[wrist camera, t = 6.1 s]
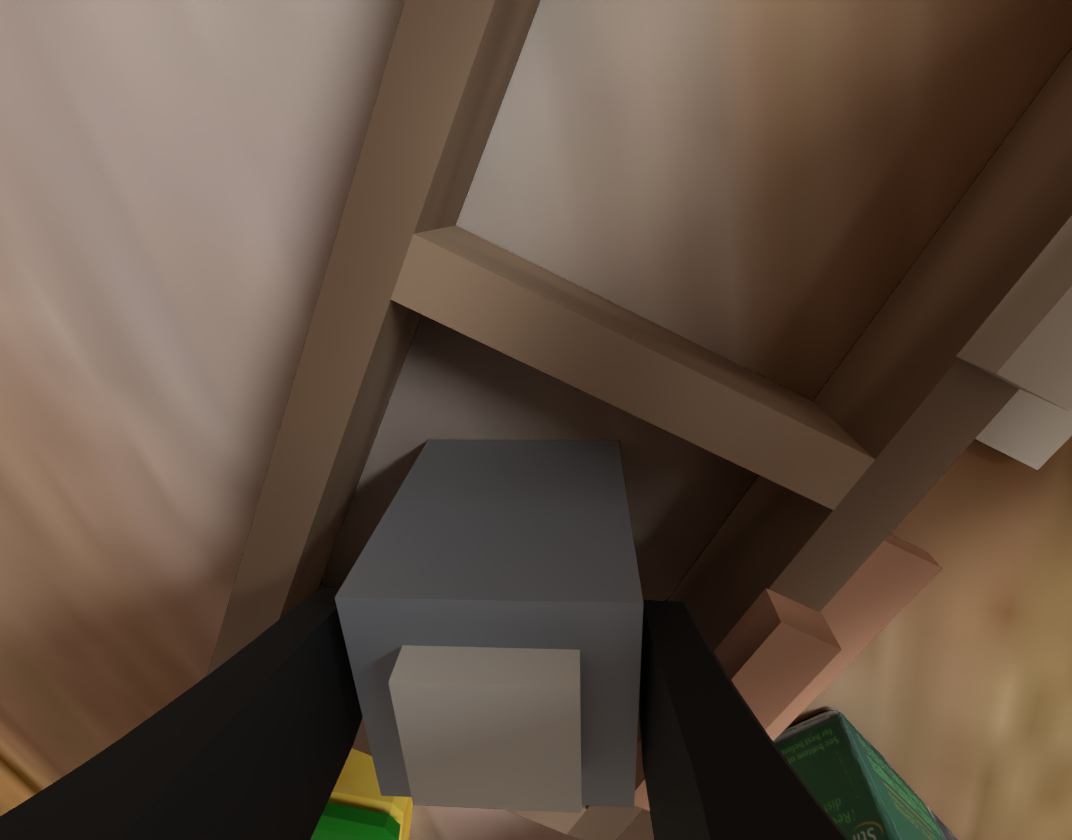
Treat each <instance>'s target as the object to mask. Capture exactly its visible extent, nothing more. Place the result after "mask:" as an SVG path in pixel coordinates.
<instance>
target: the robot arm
mask: <svg viewBox="0 0 1072 840" xmlns="http://www.w3.org/2000/svg"><path fill="white" fill-rule="evenodd" d="M339 589H340V588H331V587H322V588H320V589H319V590H317V591H316V592H315V593H313V594H312V595H310V596H309V597H308V598H306V599H305V600H304V601H303V602H301V603H300V604H299V605H297V606H296V607H295V608H293V609H292V610H291V611H290V612H288V613H287V614H286V615H285V616H283V617H282V618H281V619H279V620H278V621H277V622H276V623H274V624H273V625H272V626H271V627H269V628H268V629H267V630H266V631H264V632H263V633H262V634H260V635H259V636H258V637H257V638H255V639H254V640H253V641H252V642H250V643H249V644H248V645H246V646H245V647H244V648H242V649H241V650H240V651H239V652H237V653H236V654H235V655H233V656H232V657H231V658H230V659H228V660H227V661H226V662H224V663H223V664H222V665H220V666H219V667H218V668H217V669H215V670H214V671H213V672H211V673H210V674H209V675H208V676H206V677H205V678H204V679H202V680H201V681H200V682H198V683H197V684H196V685H194V686H193V687H192V688H190V689H189V690H187V691H186V692H185V693H183V694H182V695H180V696H179V697H178V698H176V699H175V700H174V701H172V702H171V703H169V704H168V705H167V706H165V707H164V708H162V709H161V710H160V711H158V712H157V713H156V714H154V715H153V716H151V717H150V718H149V719H147V720H146V721H144V722H143V723H142V724H140V725H139V726H138V727H136V728H135V729H133V730H132V731H131V732H129V733H128V734H126V735H125V736H124V737H122V738H121V739H119V740H118V741H116V742H115V743H114V744H112V745H111V746H109V747H108V748H106V749H105V750H103V751H102V752H100V753H99V754H97V755H96V756H94V757H93V758H91V759H90V760H88V761H87V762H85V763H84V764H82V765H81V766H79V767H78V768H76V769H75V770H73V771H72V772H70V773H69V774H67V775H66V776H64V777H62V778H61V779H59V780H58V781H56V782H55V783H53V784H51V785H50V786H48V787H47V788H45V789H44V790H42V791H40V792H39V793H37V794H36V795H34V796H33V797H31V798H29V799H28V800H26V801H25V802H23V803H22V804H20V805H18V806H17V807H15V808H13V809H12V810H10V811H9V812H7V813H5V814H4V815H2V816H0V840H311V837H312V835H313V833H314V831H315V829H316V826H317V824H318V822H319V820H320V818H321V816H322V813H323V811H324V809H325V807H326V805H327V802H328V800H329V798H330V796H331V794H332V791H333V789H334V787H335V785H336V782H337V780H338V778H339V776H340V774H341V771H342V769H343V767H344V765H345V762H346V760H347V758H348V756H349V753H350V751H351V749H352V746H353V744H354V741H355V738H356V735H357V732H358V729H359V727H360V724H361V721H362V718H363V716H362V712H361V708H360V704H359V699H358V695H357V691H356V687H355V682H354V678H353V674H352V670H351V665H350V661H349V657H348V653H347V648H346V644H345V640H344V636H343V631H342V627H341V623H340V619H339V614H338V610H337V606H336V602H335V596H336V594H337V593H338V591H339ZM639 716H640V733H641V747H642V762H643V770H644V776H645V783H646V789H647V796H648V802H649V808H650V815H651V821H652V827H653V834H654V840H848V838H847V837H846V836H845V835H844V833H843V832H842V831H841V830H840V828H839V827H838V826H837V825H836V823H835V822H834V821H833V820H832V819H831V817H830V816H829V815H828V813H827V812H826V811H825V810H824V808H823V807H822V806H821V805H820V803H819V802H818V801H817V799H816V798H815V797H814V796H813V794H812V793H811V792H810V790H809V789H808V788H807V786H806V785H805V784H804V782H803V781H802V780H801V778H800V777H799V776H798V774H797V773H796V772H795V771H794V769H793V768H792V767H791V765H790V764H789V763H788V761H787V760H786V759H785V757H784V756H783V754H782V753H781V752H780V750H779V749H778V748H777V746H776V745H775V743H774V742H773V741H772V739H771V738H770V736H769V735H768V734H767V732H766V731H765V729H764V728H763V726H762V725H761V723H760V722H759V721H758V719H757V718H756V716H755V715H754V713H753V712H752V710H751V709H750V707H749V706H748V704H747V703H746V701H745V700H744V699H743V697H742V696H741V694H740V693H739V691H738V690H737V688H736V687H735V685H734V683H733V682H732V680H731V679H730V677H729V676H728V674H727V673H726V671H725V669H724V668H723V666H722V664H721V663H720V661H719V660H718V658H717V656H716V655H715V653H714V652H713V650H712V648H711V646H710V645H709V643H708V641H707V640H706V638H705V636H704V634H703V633H702V631H701V629H700V627H699V625H698V624H697V622H696V620H695V618H694V616H693V614H692V612H691V610H690V608H689V607H688V606H687V605H686V604H685V603H684V602H680V601H655V600H643V624H642V646H641V668H640V690H639Z"/></svg>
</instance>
